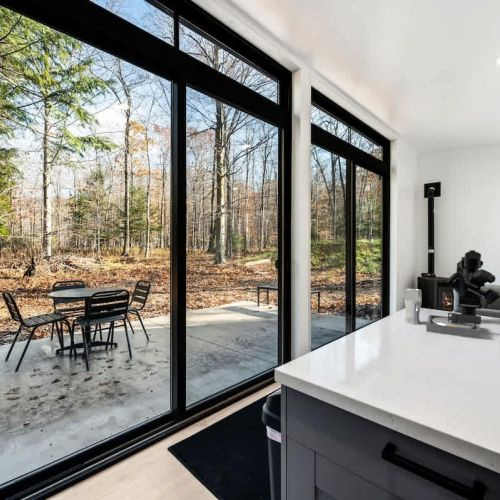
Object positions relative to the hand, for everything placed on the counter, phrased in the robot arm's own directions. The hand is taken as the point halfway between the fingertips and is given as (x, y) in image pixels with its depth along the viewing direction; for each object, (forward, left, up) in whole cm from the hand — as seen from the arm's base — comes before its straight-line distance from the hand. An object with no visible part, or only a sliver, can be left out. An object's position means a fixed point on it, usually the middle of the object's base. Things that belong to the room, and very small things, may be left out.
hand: (474, 301), depth 127 cm
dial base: (-2, -7, -13) cm, 15 cm away
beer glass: (-6, -23, -13) cm, 27 cm away
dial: (-2, -6, -11) cm, 13 cm away
